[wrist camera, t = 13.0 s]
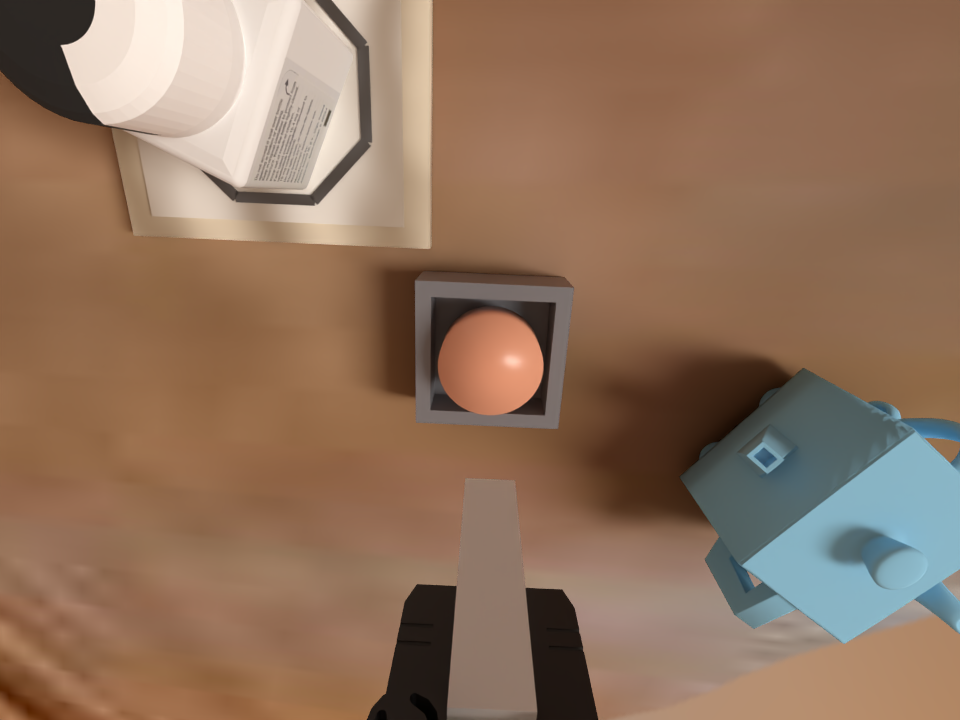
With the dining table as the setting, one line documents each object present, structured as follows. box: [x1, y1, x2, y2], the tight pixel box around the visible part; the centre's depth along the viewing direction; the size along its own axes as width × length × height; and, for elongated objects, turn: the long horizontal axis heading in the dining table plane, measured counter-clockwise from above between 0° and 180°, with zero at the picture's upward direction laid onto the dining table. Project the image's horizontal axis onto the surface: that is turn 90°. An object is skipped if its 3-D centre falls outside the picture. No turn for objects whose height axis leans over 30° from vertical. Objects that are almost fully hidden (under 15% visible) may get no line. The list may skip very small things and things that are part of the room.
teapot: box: [680, 368, 960, 644], centre depth 28 cm, size 16×18×11 cm
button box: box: [415, 271, 574, 429], centre depth 29 cm, size 9×9×4 cm
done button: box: [438, 306, 543, 415], centre depth 27 cm, size 6×6×2 cm
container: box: [0, 0, 353, 190], centre depth 19 cm, size 8×8×13 cm
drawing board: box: [111, 0, 433, 249], centre depth 25 cm, size 18×16×1 cm
